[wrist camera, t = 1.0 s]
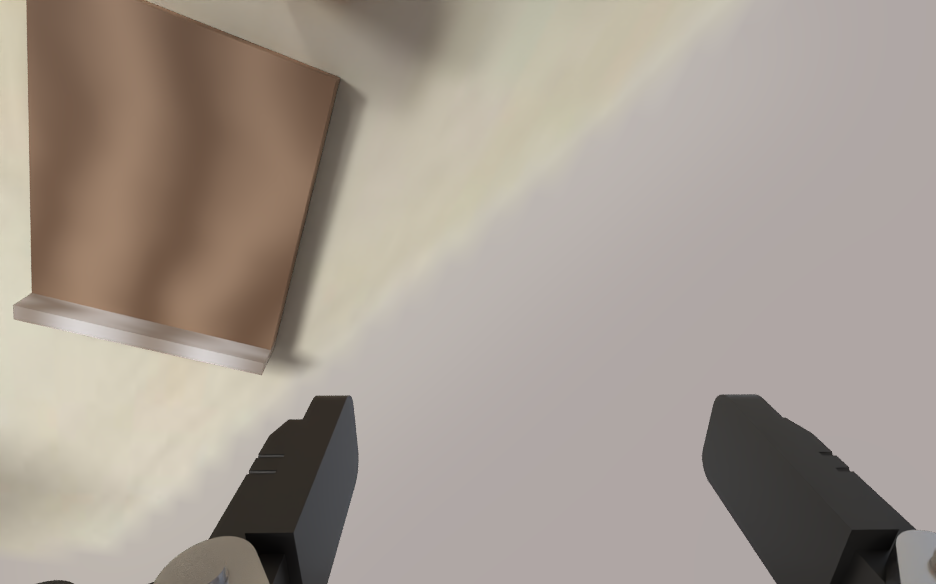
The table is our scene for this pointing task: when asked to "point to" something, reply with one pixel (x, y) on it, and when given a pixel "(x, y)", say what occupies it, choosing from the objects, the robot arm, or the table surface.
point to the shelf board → (166, 179)
